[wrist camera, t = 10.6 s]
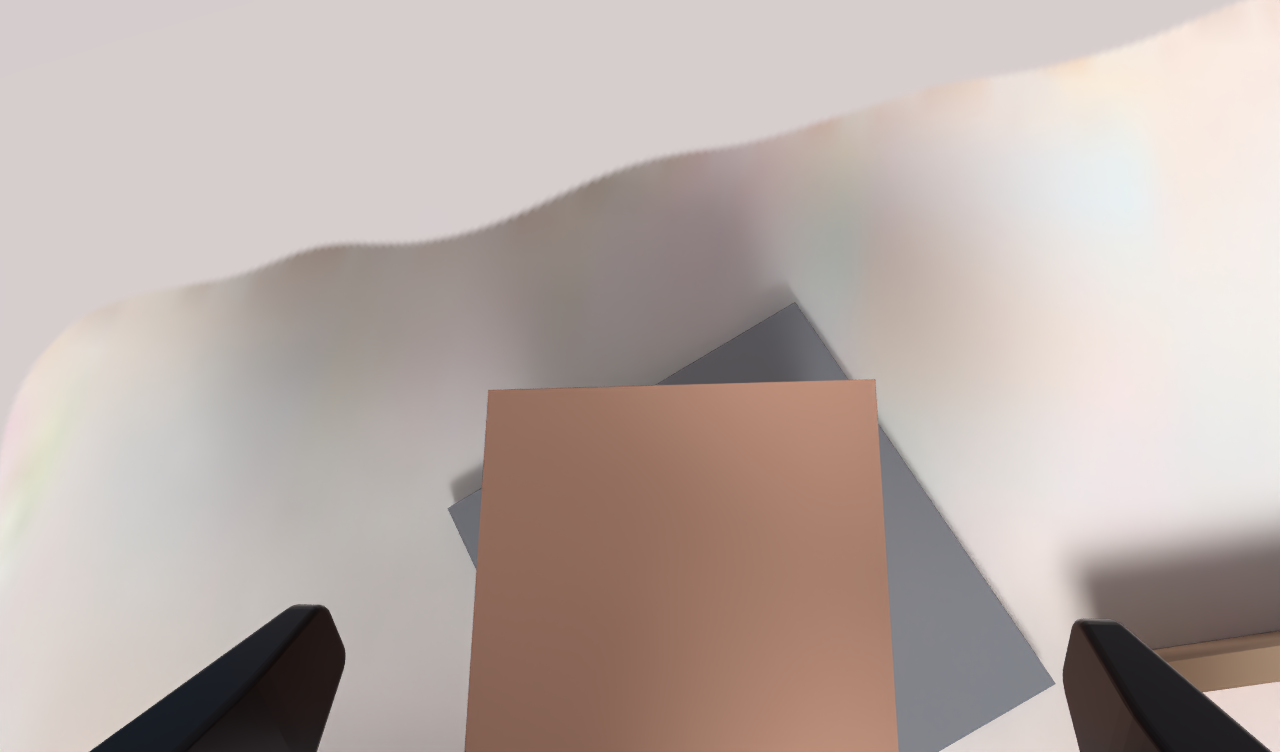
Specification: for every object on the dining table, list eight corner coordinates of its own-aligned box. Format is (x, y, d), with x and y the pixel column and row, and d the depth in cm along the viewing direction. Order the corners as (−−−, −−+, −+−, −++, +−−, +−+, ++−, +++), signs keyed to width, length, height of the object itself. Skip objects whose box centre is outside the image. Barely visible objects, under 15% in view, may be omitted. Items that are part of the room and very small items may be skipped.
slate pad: (646, 912, 17) (641, 924, 17) (457, 510, 20) (447, 508, 20) (1046, 680, 17) (1055, 683, 17) (794, 310, 20) (795, 302, 20)
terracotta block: (843, 710, 17) (903, 830, 9) (614, 700, 18) (461, 803, 9) (831, 477, 18) (875, 379, 10) (619, 479, 19) (488, 390, 11)
